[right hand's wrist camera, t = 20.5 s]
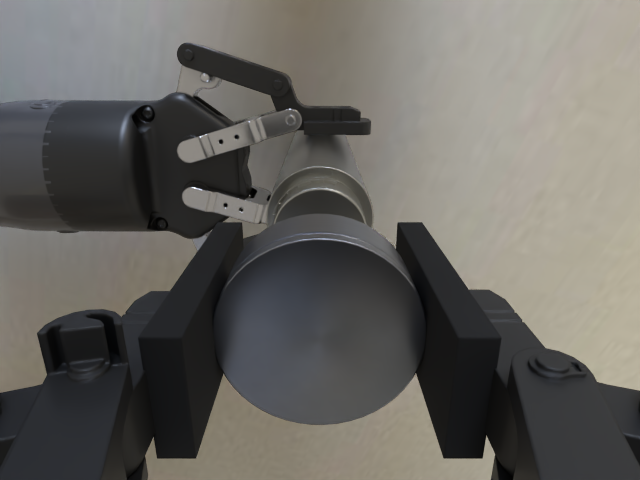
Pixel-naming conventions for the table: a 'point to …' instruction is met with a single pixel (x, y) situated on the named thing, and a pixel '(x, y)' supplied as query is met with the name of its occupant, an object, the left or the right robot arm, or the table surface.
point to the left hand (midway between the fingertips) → (366, 168)
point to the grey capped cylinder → (319, 181)
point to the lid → (319, 321)
